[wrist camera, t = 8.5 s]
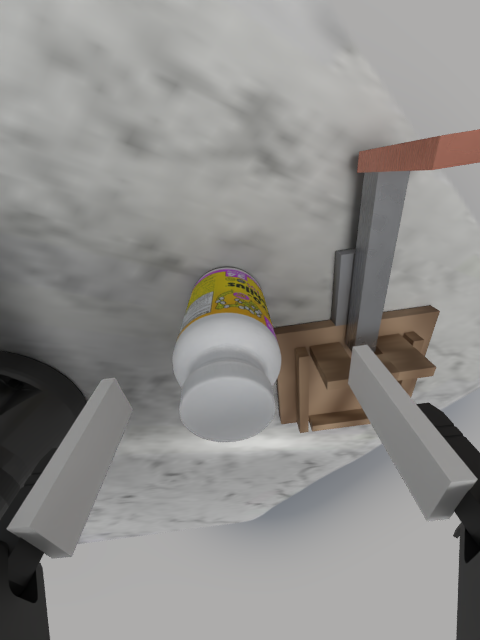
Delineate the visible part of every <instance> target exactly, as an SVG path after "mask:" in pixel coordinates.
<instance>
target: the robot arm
mask: <svg viewBox="0 0 480 640" xmlns="http://www.w3.org/2000/svg"><path fill="white" fill-rule="evenodd" d="M348 384H349V386H350V388H351V389H352V391H353V393H354V395H355V396H356V398H357V400H358V402H359V403H360V405H361V407H362V409H363V410H364V412H365V414H366V416H367V417H368V419H369V421H370V423H371V424H372V426H373V428H374V430H375V431H376V433H377V435H378V437H379V438H380V440H381V442H382V444H383V445H384V447H385V449H386V451H387V452H388V454H389V456H390V457H391V459H392V461H393V463H394V465H395V466H396V468H397V470H398V471H399V473H400V475H401V477H402V479H403V480H404V482H405V484H406V486H407V487H408V489H409V491H410V492H411V494H412V496H413V498H414V499H415V501H416V503H417V505H418V506H419V508H420V510H421V512H422V513H423V515H424V517H425V519H426V520H427V521H434V520H444V519H449V518H450V517H451V516H452V514H453V513H454V511H455V513H456V514H457V516H458V517H459V519H460V520H461V524H460V525H459V526H458V527H457V529H456V530H455V533H454V535H453V536H454V537H456V538H458V537H459V536H460V550H459V581H458V610H457V639H456V640H480V453H479V451H478V450H477V449H476V448H475V447H474V446H473V445H472V444H471V443H470V442H469V441H468V440H467V438H466V437H464V436H463V434H462V433H461V432H460V431H459V429H458V428H457V427H455V426H454V424H453V423H452V422H451V421H450V420H449V418H448V417H447V416H446V415H445V414H444V413H443V412H442V411H440V410H439V409H437V408H436V407H434V406H433V405H431V404H430V403H422V404H416V403H415V402H414V401H413V400H412V399H411V397H410V396H409V395H408V394H407V393H406V391H405V390H404V389H403V388H402V386H401V385H400V384H399V383H398V382H397V380H396V379H395V378H394V377H393V375H392V374H391V373H390V372H389V371H388V369H387V368H386V367H385V366H384V365H383V363H382V362H381V361H380V360H379V358H378V357H377V356H376V355H375V354H374V352H373V351H372V350H371V349H370V347H369V346H368V345H361V346H354V347H353V349H352V357H351V364H350V372H349V380H348ZM132 412H133V409H132V407H131V405H130V404H129V402H128V400H127V398H126V396H125V395H124V393H123V391H122V389H121V387H120V385H119V384H118V382H117V380H116V378H108V379H102V380H101V381H100V383H99V385H98V386H97V388H96V389H95V391H94V392H93V394H92V396H91V397H90V399H89V400H88V402H87V403H86V401H85V399H84V397H83V395H82V394H81V392H80V391H79V390H78V388H77V387H76V386H75V385H74V384H73V383H72V382H71V381H69V380H68V379H67V378H66V377H65V376H63V375H62V374H60V373H59V372H57V371H56V370H54V369H52V368H51V367H49V366H47V365H45V364H43V363H40V362H38V361H36V360H33V359H30V358H27V357H24V356H21V355H17V354H13V353H8V352H2V351H0V640H50V636H49V626H48V617H47V607H46V598H45V587H44V579H43V569H42V566H41V563H39V562H40V560H41V558H42V556H43V554H44V553H45V554H46V555H48V556H49V557H51V558H62V557H71V556H72V555H73V553H74V550H75V548H76V545H77V543H78V541H79V538H80V536H81V534H82V531H83V529H84V526H85V524H86V522H87V519H88V517H89V515H90V512H91V510H92V507H93V505H94V503H95V500H96V498H97V495H98V493H99V491H100V488H101V486H102V483H103V481H104V479H105V476H106V474H107V471H108V469H109V467H110V464H111V462H112V460H113V457H114V455H115V452H116V450H117V448H118V445H119V443H120V440H121V438H122V436H123V433H124V431H125V428H126V426H127V424H128V421H129V419H130V417H131V414H132Z"/></svg>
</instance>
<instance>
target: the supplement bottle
mask: <svg viewBox="0 0 480 640" xmlns="http://www.w3.org/2000/svg"><path fill="white" fill-rule="evenodd" d="M172 364H173V371H174V374H175V377H176V379H177V381H178V383H179V385H180V386H181V388H182V391H181V399H180V405H179V414H180V418H181V421H182V422H183V424H184V425H185V427H186V428H187V429H188V430H189V431H191V432H192V433H194V434H195V435H197V436H199V437H201V438H204V439H207V440H211V441H216V442H235V441H240V440H244V439H248V438H250V437H252V436H255V435H256V434H258V433H260V432H261V431H262V430H264V429H265V428H266V427H267V426H268V425H269V424H270V422H271V421H272V419H273V417H274V414H275V400H274V395H273V390H272V386H273V385H274V383H275V381H276V380H277V378H278V375H279V372H280V368H281V353H280V348H279V345H278V342H277V338H276V335H275V332H274V329H273V326H272V322H271V319H270V315H269V313H268V309H267V306H266V302H265V299H264V296H263V293H262V290H261V288H260V286H259V284H258V283H257V281H256V280H255V279H254V278H253V277H252V276H251V275H249V274H248V273H246V272H244V271H242V270H239V269H236V268H228V267H225V268H218V269H215V270H212V271H210V272H208V273H206V274H205V275H204V276H202V277H201V278H200V279H199V281H198V282H197V283H196V285H195V286H194V288H193V291H192V293H191V297H190V300H189V303H188V306H187V309H186V313H185V316H184V319H183V322H182V326H181V329H180V332H179V335H178V338H177V341H176V345H175V348H174V352H173V358H172Z"/></svg>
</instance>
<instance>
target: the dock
mask: <svg viewBox="0 0 480 640" xmlns="http://www.w3.org/2000/svg"><path fill="white" fill-rule="evenodd" d="M355 252H356V248H353V249H347V250H340V251H336V254H335V269H334V283H333V298H332V313H331V320H326V321H319V322H312V323H305V324H298V325H291V326H285V327H278V328H273V329H274V332H275V335H276V338H277V342H278V345H279V348H280V353H281V368H280V372H279V375H278V378H277V390H278V403H279V415H280V420H281V424H287V423H295V422H297V424H298V427H299V431H300V433H304V432H308V421H309V423H310V426H311V429H312V431H319V430H326V429H334V428H342V427H349V426H357V425H364V424H371V423H370V421H369V419H368V417H367V416H366V414H365V412H364V410H363V409H362V407H361V405H360V403H359V402H358V400H357V398H356V396H355V395H354V393H353V391H352V389H351V388H350V386H349V384H348V380H349V372H350V364H351V357H352V352H351V350H350V349H349V347H348V346H347V345H346V334H347V325H348V316H349V307H350V298H351V289H352V280H353V270H354V261H355ZM439 312H440V311H439V310H437V309H436V308H434V307H432V306H431V305H430V306H423V307H416V308H409V309H402V310H396V311H389V312H383V313H382V319H381V324H380V329H379V334H378V339H377V344H376V350H375V352H374V354H375V355H376V356H377V357H378V358H379V360H380V361H381V362H382V363H383V365H384V366H385V367H386V368H387V369H388V371H389V372H390V373H391V374H392V375H393V377H394V378H395V379H396V380H397V382H398V383H399V384H400V385H401V386H402V388H403V389H404V390H405V391H406V393H407V394H408V395H409V396H410V397H411V396H412V393H413V390H414V387H415V384H416V381H417V378H421V377H429V376H433V375H434V372H435V369H436V366H435V365H433V364H432V363H431V362H430V361H429V360H428V359H427V358H426V357H425V354H426V351H427V348H428V345H429V342H430V339H431V336H432V333H433V330H434V327H435V324H436V321H437V318H438V315H439Z"/></svg>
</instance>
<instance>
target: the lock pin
mask: <svg viewBox="0 0 480 640" xmlns="http://www.w3.org/2000/svg"><path fill="white" fill-rule="evenodd" d="M478 162H480V129H479V130H473V131H467V132H461V133H454V134H449V135H442V136H437V137H432V138H427V139H421V140H416V141H411V142H406V143H401V144H396V145H391V146H386V147H380V148H375V149H370V150H365V151H360V152H359V158H358V169H357V173H363V172H364V180H363V189H362V198H361V207H360V216H359V225H358V234H357V243H356V252H355V261H354V270H353V280H352V289H351V298H350V307H349V316H348V325H347V334H346V345H347V346H348V347H349V349H350V350H351V352H352V349H353V347H354V346H361V345H368V346H369V347H370V349H371V350H372V351H373V352H375V350H376V344H377V339H378V334H379V329H380V324H381V319H382V313H383V308H384V303H385V298H386V293H387V288H388V282H389V277H390V272H391V267H392V262H393V257H394V251H395V246H396V241H397V236H398V231H399V226H400V220H401V215H402V210H403V205H404V200H405V195H406V189H407V184H408V179H409V174H410V171H416V170H435V169H441V168H447V167H453V166H460V165H466V164H472V163H478Z"/></svg>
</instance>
